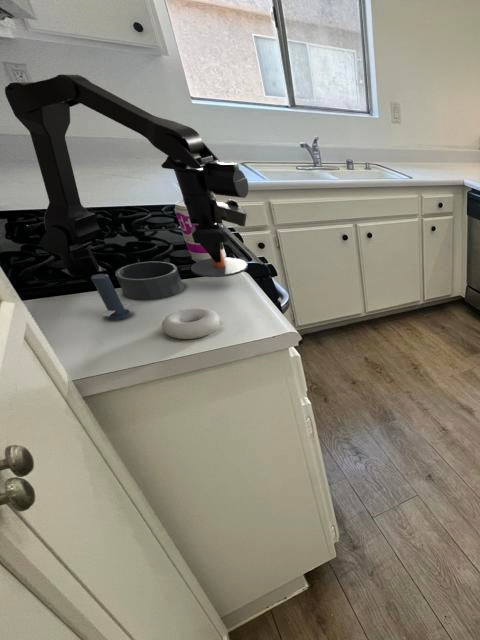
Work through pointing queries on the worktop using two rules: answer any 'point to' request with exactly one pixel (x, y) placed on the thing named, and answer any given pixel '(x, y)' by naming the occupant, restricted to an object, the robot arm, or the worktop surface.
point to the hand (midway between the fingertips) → (217, 260)
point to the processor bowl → (149, 280)
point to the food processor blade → (110, 298)
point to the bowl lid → (219, 267)
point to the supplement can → (194, 248)
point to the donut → (191, 323)
